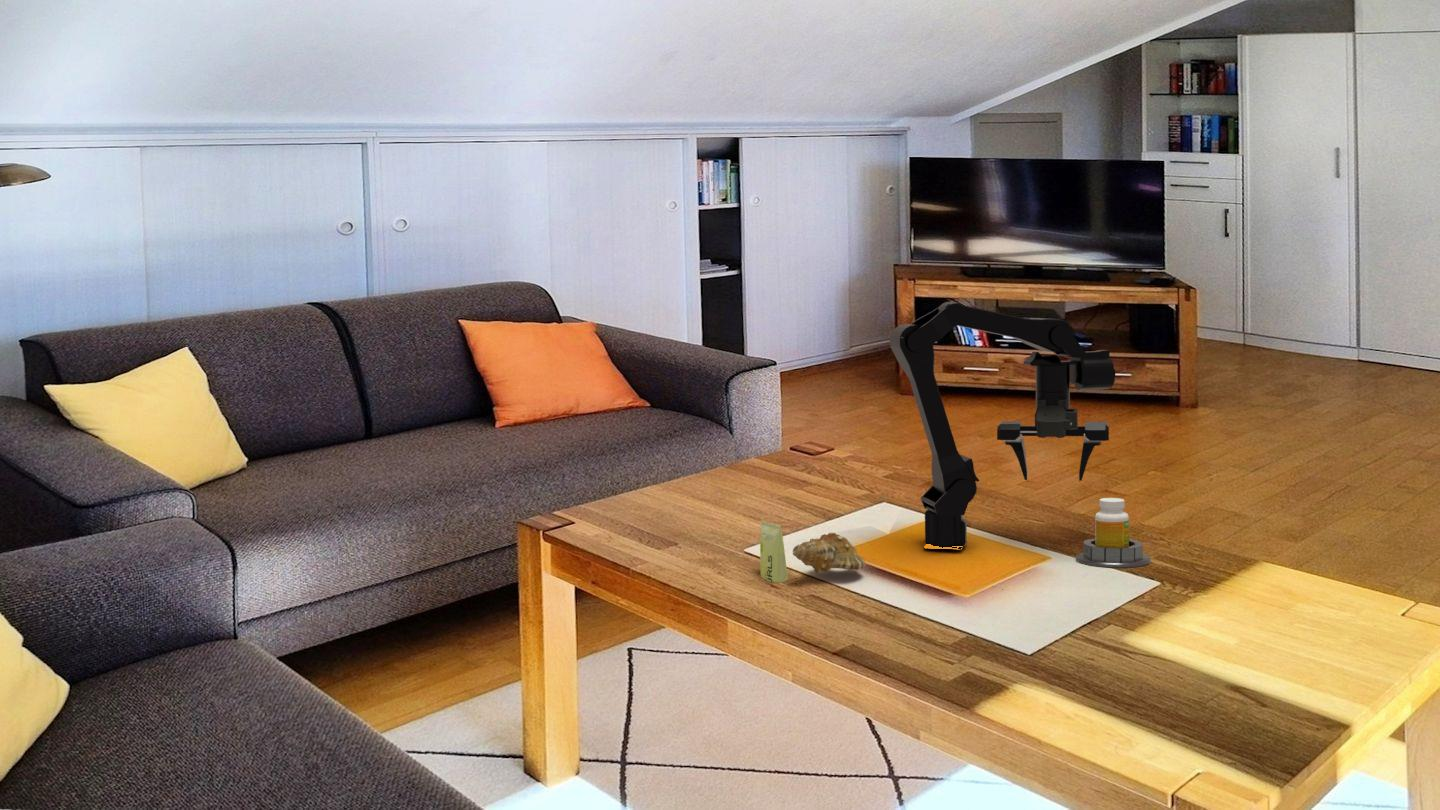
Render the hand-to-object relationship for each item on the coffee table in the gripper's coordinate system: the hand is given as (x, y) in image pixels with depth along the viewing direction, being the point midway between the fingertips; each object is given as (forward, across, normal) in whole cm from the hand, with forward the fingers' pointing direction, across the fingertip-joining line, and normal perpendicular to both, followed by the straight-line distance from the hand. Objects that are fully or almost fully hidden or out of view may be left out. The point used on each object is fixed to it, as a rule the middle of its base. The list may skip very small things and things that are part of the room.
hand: (1053, 480), depth 235 cm
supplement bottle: (+12, +10, -9) cm, 18 cm away
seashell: (+13, -32, -25) cm, 43 cm away
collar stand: (+12, +10, -9) cm, 18 cm away
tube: (+23, -43, -29) cm, 57 cm away
